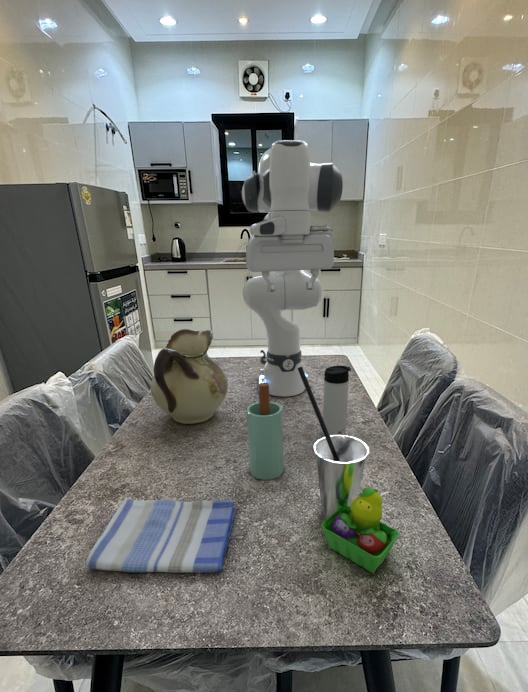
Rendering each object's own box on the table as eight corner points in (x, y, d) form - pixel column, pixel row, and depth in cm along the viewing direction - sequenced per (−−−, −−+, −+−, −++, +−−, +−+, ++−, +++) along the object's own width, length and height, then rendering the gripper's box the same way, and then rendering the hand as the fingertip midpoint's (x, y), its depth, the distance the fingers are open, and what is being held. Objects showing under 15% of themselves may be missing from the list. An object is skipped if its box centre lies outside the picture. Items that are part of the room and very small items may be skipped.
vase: (247, 463, 93) (244, 403, 87) (279, 459, 95) (277, 399, 88) (253, 481, 86) (249, 418, 80) (286, 476, 88) (286, 414, 81)
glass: (297, 505, 79) (296, 366, 67) (344, 492, 82) (352, 358, 70) (321, 541, 69) (325, 387, 57) (374, 524, 73) (388, 376, 61)
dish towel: (125, 505, 80) (123, 494, 78) (238, 507, 78) (237, 496, 77) (82, 573, 64) (78, 560, 63) (222, 578, 62) (220, 565, 61)
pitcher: (217, 396, 132) (211, 324, 122) (241, 424, 112) (236, 341, 102) (150, 409, 123) (137, 332, 113) (163, 441, 104) (149, 352, 94)
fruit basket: (318, 547, 68) (319, 495, 63) (345, 521, 74) (349, 472, 69) (375, 583, 61) (381, 527, 56) (401, 551, 67) (408, 498, 62)
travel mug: (345, 443, 101) (350, 372, 93) (321, 441, 102) (323, 370, 94) (347, 432, 107) (351, 364, 99) (323, 430, 108) (325, 362, 100)
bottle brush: (256, 463, 92) (253, 381, 83) (273, 461, 92) (271, 380, 84) (260, 473, 88) (256, 388, 79) (276, 470, 89) (274, 386, 80)
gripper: (330, 225, 89) (327, 286, 95) (243, 227, 85) (246, 290, 91) (339, 225, 84) (336, 290, 89) (247, 226, 80) (250, 294, 85)
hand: (290, 290), depth 90 cm, fingers open, 8 cm apart
